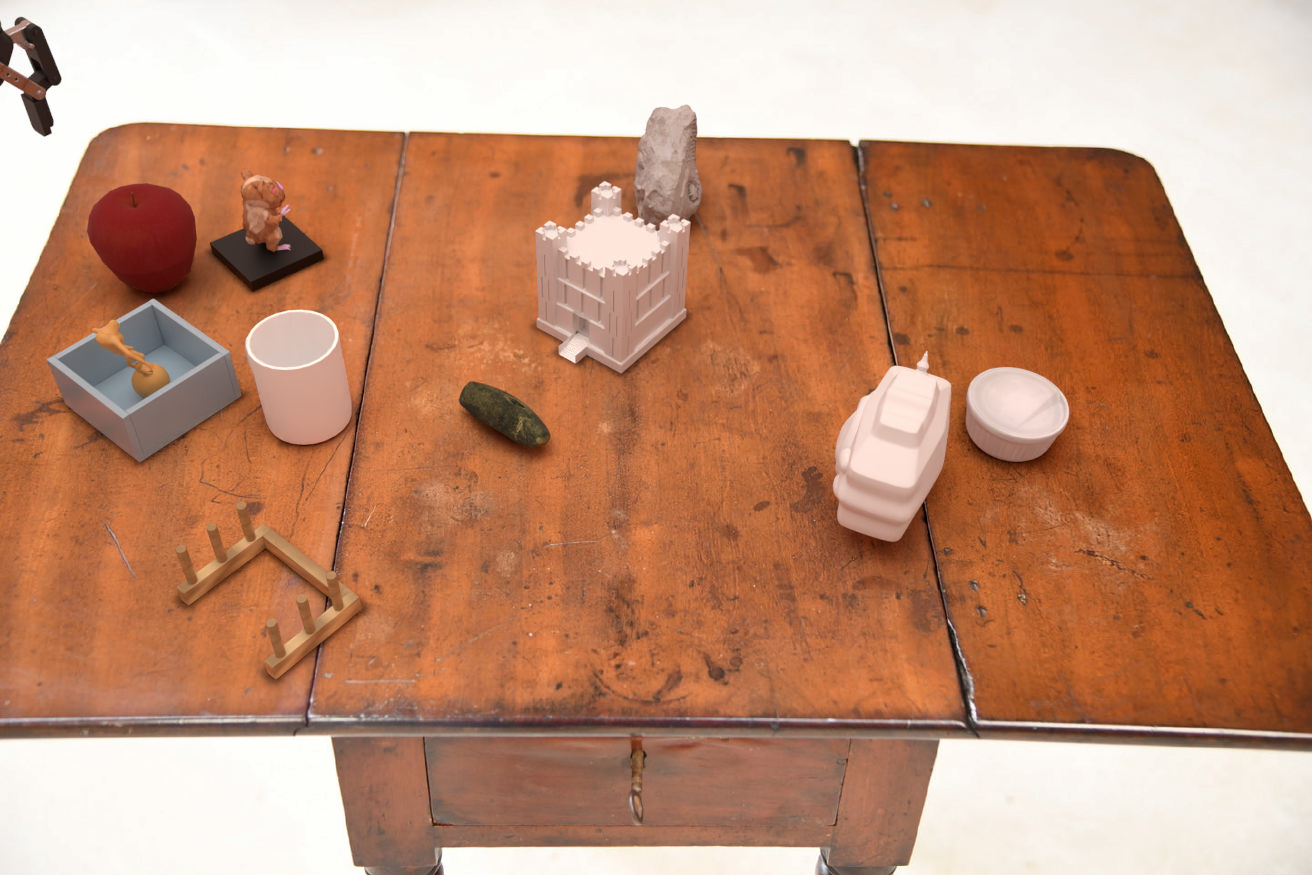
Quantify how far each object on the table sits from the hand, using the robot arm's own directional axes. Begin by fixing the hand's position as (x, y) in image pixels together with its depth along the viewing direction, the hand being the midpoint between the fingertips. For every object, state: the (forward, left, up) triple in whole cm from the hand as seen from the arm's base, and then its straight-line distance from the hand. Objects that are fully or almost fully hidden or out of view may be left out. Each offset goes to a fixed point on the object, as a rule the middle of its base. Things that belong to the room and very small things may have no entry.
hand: (1, 151), depth 116 cm
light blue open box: (+5, -3, -34) cm, 34 cm away
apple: (+18, +14, -34) cm, 41 cm away
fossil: (+71, -24, -34) cm, 82 cm away
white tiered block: (+46, -73, -34) cm, 92 cm away
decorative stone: (+27, -36, -34) cm, 56 cm away
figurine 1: (+4, -3, -33) cm, 33 cm away
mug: (+14, -17, -34) cm, 40 cm away
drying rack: (-5, -35, -34) cm, 49 cm away
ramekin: (+64, -79, -34) cm, 107 cm away
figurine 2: (+30, +8, -34) cm, 46 cm away
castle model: (+48, -33, -34) cm, 67 cm away
